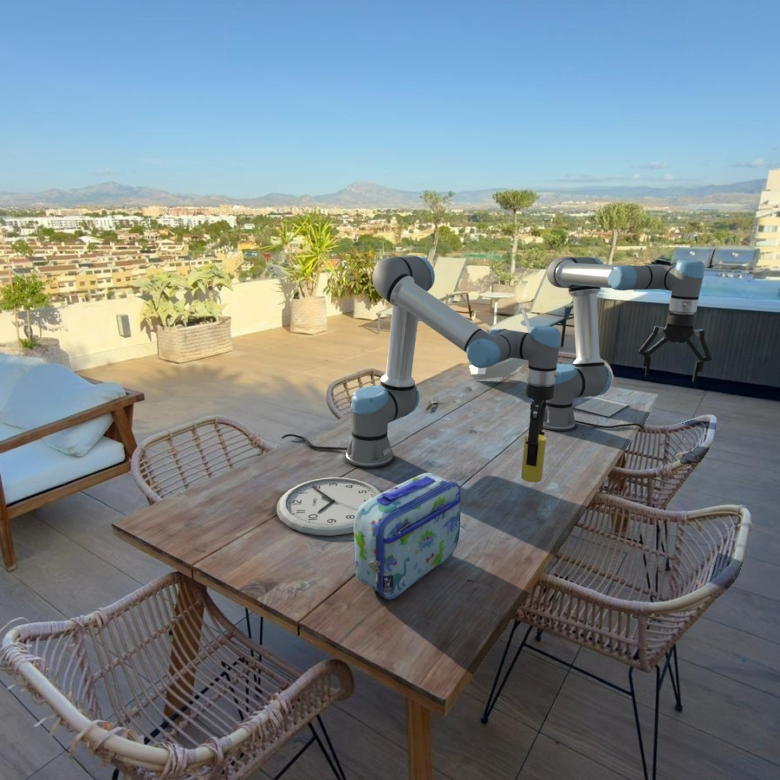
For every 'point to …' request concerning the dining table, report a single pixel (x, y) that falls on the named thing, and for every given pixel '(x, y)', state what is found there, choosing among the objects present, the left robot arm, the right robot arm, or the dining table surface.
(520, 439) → the dining table surface
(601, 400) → the invitation card
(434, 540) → the lunch box
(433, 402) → the fork
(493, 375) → the white plastic object
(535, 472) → the can
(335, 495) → the wall clock
